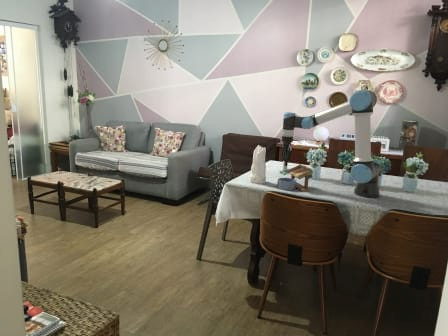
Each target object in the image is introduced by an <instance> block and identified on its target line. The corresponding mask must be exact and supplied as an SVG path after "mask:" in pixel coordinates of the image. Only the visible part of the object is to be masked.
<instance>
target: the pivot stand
mask: <svg viewBox="0 0 448 336" xmlns="http://www.w3.org/2000/svg"><path fill="white" fill-rule="evenodd" d="M290 176H291V177H290V178H292V179H295V178H296V177H294V176H292V175H290ZM295 180H296V179H295ZM309 180H310V179H309V176H305V177H304V181H303V182H304V185H303V184H301V183H299V182H297V181H296V188H295V190H298V191H300V192H301V193H305V192H312V191H311V189H310V188H309Z"/></svg>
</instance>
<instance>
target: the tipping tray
mask: <svg viewBox="0 0 448 336" xmlns="http://www.w3.org/2000/svg"><path fill="white" fill-rule="evenodd" d="M279 174H281V175H283V176H286V175H287V174H288V175H290V176H291V175H292V176H294V177H295V178H296V179H298V180H302V179H305V176H309V180H310V179H312V178H313V174H314V171H313V168H310V167H308V166H306V165H304V164H301V163H299V164H298V165H296V166H293V167H291V168H287V170H285V171H283V170H279Z"/></svg>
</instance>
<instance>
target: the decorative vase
mask: <svg viewBox="0 0 448 336" xmlns="http://www.w3.org/2000/svg"><path fill="white" fill-rule="evenodd" d="M266 151H267V149H266V147H263V146H262V145H259V144H258V145H257V146H256V147H255V149H254V150H253V153H252V154H253V157H252V164H251V167H250V174H249V182H250V183H251V182H252V184H256V183H257V184H259V185H264V184H265V183H266V181H267V176H266V170H267V165H266V153H267V152H266Z"/></svg>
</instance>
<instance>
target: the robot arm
mask: <svg viewBox="0 0 448 336" xmlns="http://www.w3.org/2000/svg"><path fill="white" fill-rule="evenodd" d="M377 103H378V96H377V95H376V93H375V92H374V91H372V90H370V89H369V90H368V89H357V90H355V91H353V92H352V94H350V97H349V100H348V101H345V102H343V103H340V104H338V105H336V106H333V107H330V108H328V109H325V110H322V111H320V112H318V113H315V114H313V115H309V116H308V115H307V116H298V115H296V112H284V113H283V119H282V120H283V121H282V130H281V133H282V136H281V141H282V142H283V143H282V144H281V145H280V149H281V159H282V170H283V171H285V170H287V169H288V165H289V164H288V162H290V160H291V155H292V152H293V150H294V149H293V147H292V143H293V142H294V134H295V133H294V132H295V128H296V129H304V130H311V129H313V128H316V127H317V126H319V125H320V126H321V125H322V124H326V123H327V122H330V121H332V120H333V121H334V120H336V119H338V118H342V117H345V116H347V115H350V114H351V115H352V116H353V117H354V153H355V154H354V156H355V157H354V158H353V159H352V167H351V170H350V176H351V179H352V180H353V182H355V183H356V185H355V187H354V190H353V194H354V193H355V194H354V195H356V194H357V195H356V196H359V195H360V196H359V197H362V196H365V197H364V198H369V197H373V198H375V197H376V198H379V197H380V193H381V192H380V188H379V187H380V186H379V177H380V170H381V160H380V159H375V158H372V155H371V154H372V150H371V149H372V147H371V146H372V145H371V144H372V143H371V142H372V141H371V139H372V138H371V129H372V128H371V116H372V115H373V114H374V107H375V106H376V105H377ZM282 170H281V171H282ZM373 198H372V199H373ZM376 198H375V199H376Z"/></svg>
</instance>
